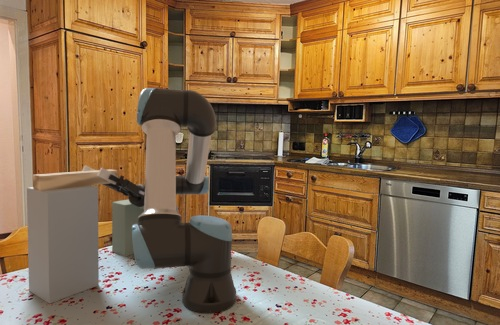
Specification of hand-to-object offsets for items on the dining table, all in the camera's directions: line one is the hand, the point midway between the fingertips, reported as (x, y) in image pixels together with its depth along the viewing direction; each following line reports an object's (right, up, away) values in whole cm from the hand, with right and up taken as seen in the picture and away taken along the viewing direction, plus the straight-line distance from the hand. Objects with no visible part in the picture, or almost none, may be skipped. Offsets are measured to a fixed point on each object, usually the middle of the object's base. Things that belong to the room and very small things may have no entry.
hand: (91, 170), depth 101 cm
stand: (-6, -35, -4) cm, 35 cm away
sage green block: (+3, -32, +30) cm, 44 cm away
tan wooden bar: (-2, -5, -3) cm, 6 cm away
